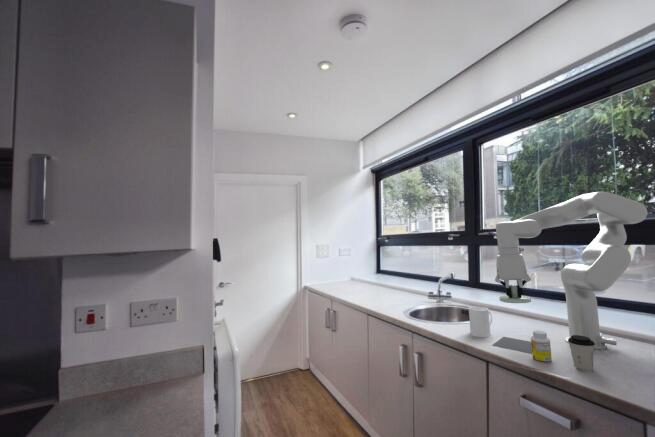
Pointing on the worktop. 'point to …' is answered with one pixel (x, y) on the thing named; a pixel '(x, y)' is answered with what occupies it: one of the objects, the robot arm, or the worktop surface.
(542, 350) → the supplement bottle
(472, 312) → the mug
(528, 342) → the mat
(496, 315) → the worktop surface
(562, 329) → the worktop surface
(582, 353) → the coffee cup
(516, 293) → the lid
